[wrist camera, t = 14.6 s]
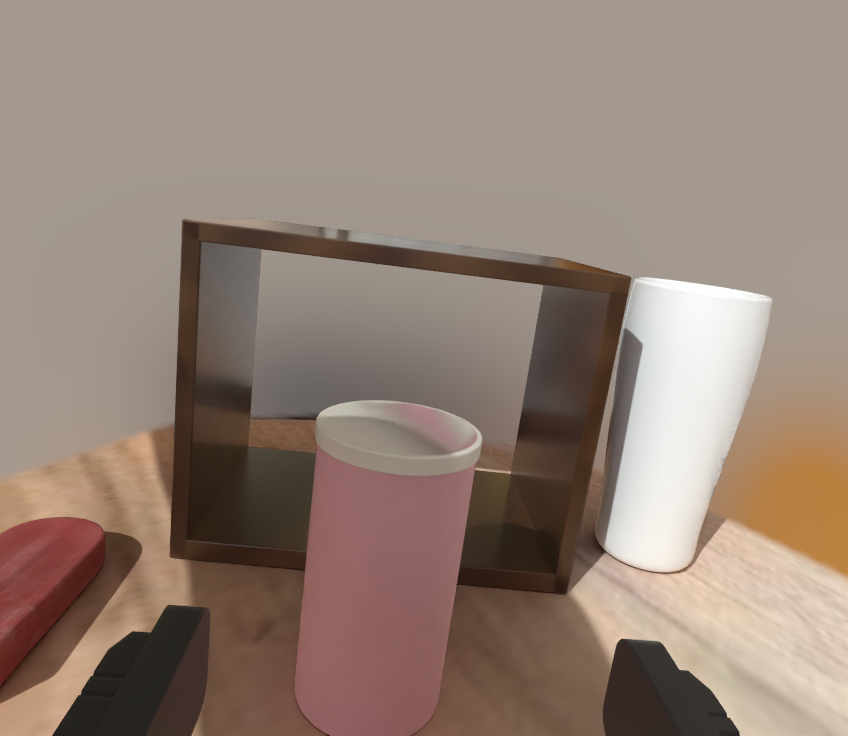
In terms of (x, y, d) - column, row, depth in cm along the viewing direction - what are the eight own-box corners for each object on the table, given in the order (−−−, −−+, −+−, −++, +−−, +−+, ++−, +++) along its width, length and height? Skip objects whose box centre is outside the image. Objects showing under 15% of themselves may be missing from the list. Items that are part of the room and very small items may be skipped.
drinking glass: (559, 522, 38) (607, 272, 34) (655, 521, 39) (711, 284, 36) (621, 588, 31) (688, 290, 28) (732, 583, 33) (809, 303, 30)
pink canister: (278, 741, 20) (304, 446, 17) (303, 631, 25) (326, 392, 23) (446, 754, 20) (494, 466, 18) (437, 643, 25) (473, 409, 23)
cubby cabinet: (169, 557, 29) (181, 218, 25) (234, 459, 40) (249, 217, 37) (567, 594, 30) (632, 277, 27) (520, 488, 42) (561, 258, 38)
